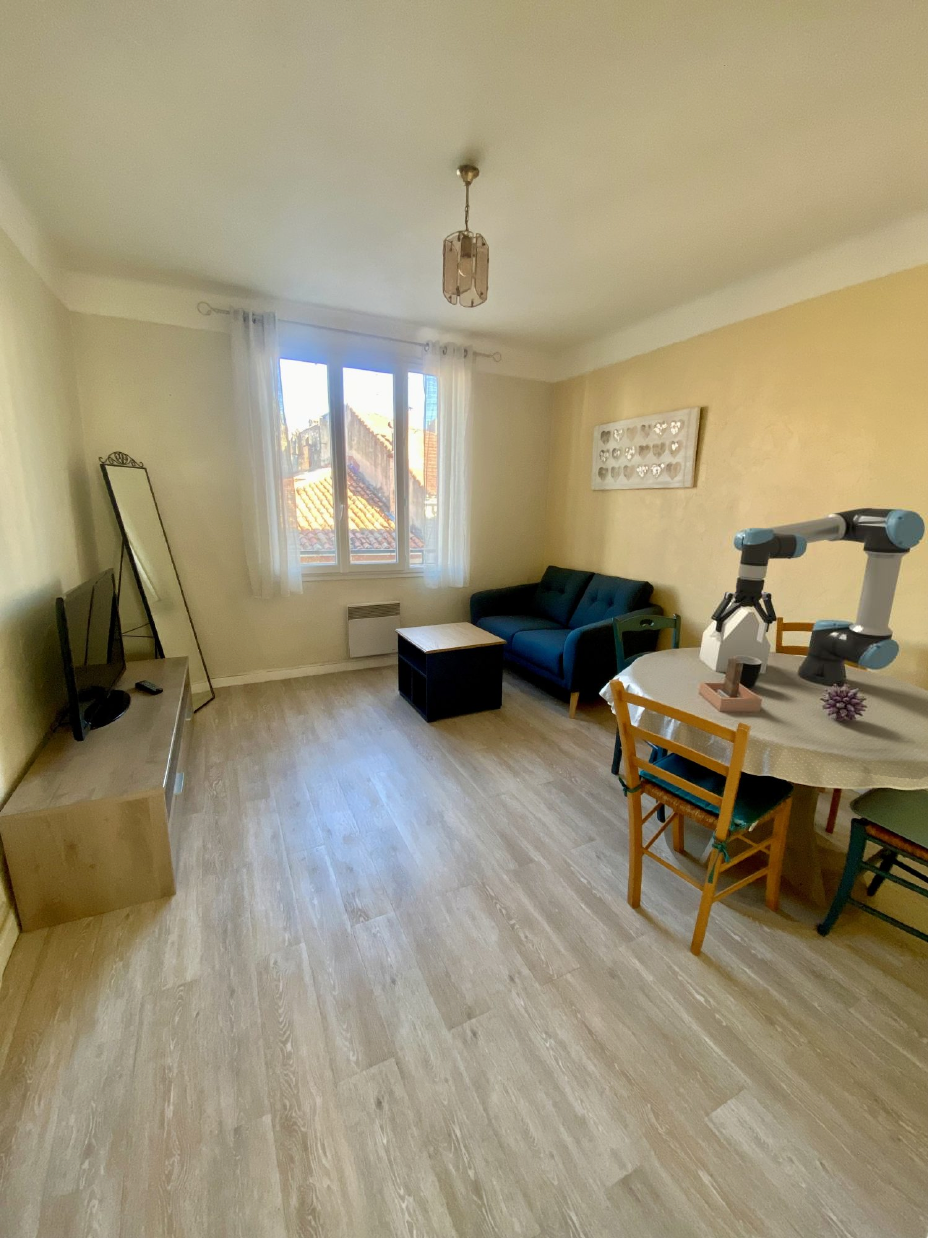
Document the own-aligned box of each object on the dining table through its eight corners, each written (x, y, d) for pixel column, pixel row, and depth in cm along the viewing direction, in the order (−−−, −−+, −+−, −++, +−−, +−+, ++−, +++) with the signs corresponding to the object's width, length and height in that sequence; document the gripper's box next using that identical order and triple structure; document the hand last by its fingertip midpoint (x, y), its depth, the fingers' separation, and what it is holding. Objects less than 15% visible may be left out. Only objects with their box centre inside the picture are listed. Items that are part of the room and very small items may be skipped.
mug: (761, 691, 171) (766, 665, 169) (734, 689, 172) (739, 663, 170) (746, 678, 183) (751, 653, 180) (722, 676, 184) (726, 652, 181)
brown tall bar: (728, 696, 164) (735, 658, 160) (735, 702, 159) (743, 663, 156) (721, 696, 164) (728, 658, 160) (728, 702, 159) (736, 663, 156)
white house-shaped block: (715, 671, 189) (725, 611, 182) (699, 658, 204) (708, 601, 197) (765, 673, 188) (777, 612, 181) (745, 659, 203) (756, 603, 196)
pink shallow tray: (736, 694, 168) (738, 682, 167) (759, 711, 156) (762, 698, 154) (698, 693, 168) (700, 682, 167) (719, 711, 155) (721, 698, 154)
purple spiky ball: (848, 731, 144) (858, 695, 140) (807, 714, 154) (815, 680, 151) (871, 725, 148) (880, 689, 145) (829, 708, 159) (838, 675, 155)
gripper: (782, 575, 154) (769, 638, 160) (706, 575, 153) (696, 637, 159) (798, 580, 147) (784, 645, 153) (718, 579, 146) (708, 645, 152)
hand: (739, 641), depth 156 cm, fingers open, 13 cm apart
